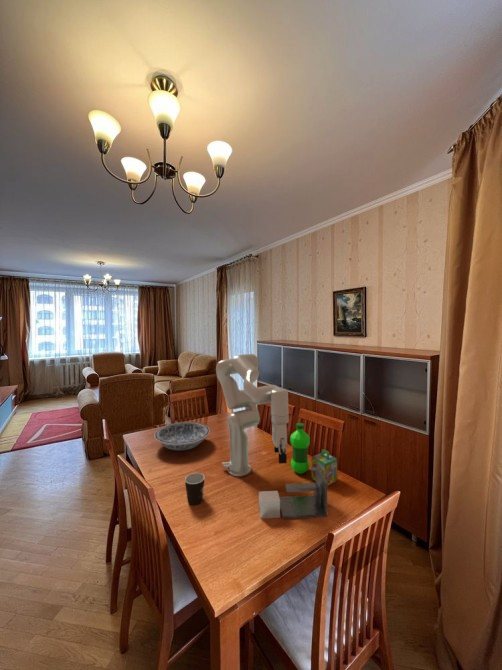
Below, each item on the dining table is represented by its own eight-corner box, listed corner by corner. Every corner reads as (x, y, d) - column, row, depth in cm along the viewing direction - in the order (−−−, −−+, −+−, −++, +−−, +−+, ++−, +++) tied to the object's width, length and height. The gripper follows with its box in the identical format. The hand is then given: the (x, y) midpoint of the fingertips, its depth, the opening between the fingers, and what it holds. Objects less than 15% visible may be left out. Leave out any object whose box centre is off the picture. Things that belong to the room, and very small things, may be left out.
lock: (260, 518, 107) (260, 501, 107) (259, 507, 114) (258, 491, 113) (280, 517, 108) (280, 500, 107) (277, 506, 114) (277, 490, 114)
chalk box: (310, 479, 134) (310, 450, 134) (322, 473, 140) (322, 445, 139) (325, 488, 127) (325, 457, 126) (337, 481, 132) (337, 451, 131)
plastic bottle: (309, 466, 146) (309, 421, 145) (309, 477, 135) (309, 428, 135) (291, 464, 148) (290, 420, 147) (289, 475, 138) (289, 427, 137)
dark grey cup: (195, 509, 113) (195, 486, 112) (181, 502, 117) (180, 480, 117) (213, 494, 123) (213, 473, 122) (199, 488, 127) (199, 467, 127)
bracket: (282, 518, 107) (282, 484, 106) (278, 499, 119) (278, 468, 118) (327, 516, 108) (327, 482, 107) (318, 497, 120) (318, 466, 119)
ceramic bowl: (182, 465, 148) (181, 447, 148) (142, 450, 166) (142, 434, 166) (220, 442, 178) (220, 427, 177) (183, 431, 196) (183, 418, 195)
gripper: (267, 412, 123) (268, 448, 123) (274, 425, 106) (275, 468, 106) (284, 411, 124) (284, 447, 124) (293, 424, 106) (293, 467, 107)
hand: (280, 457), depth 115 cm, fingers open, 9 cm apart
